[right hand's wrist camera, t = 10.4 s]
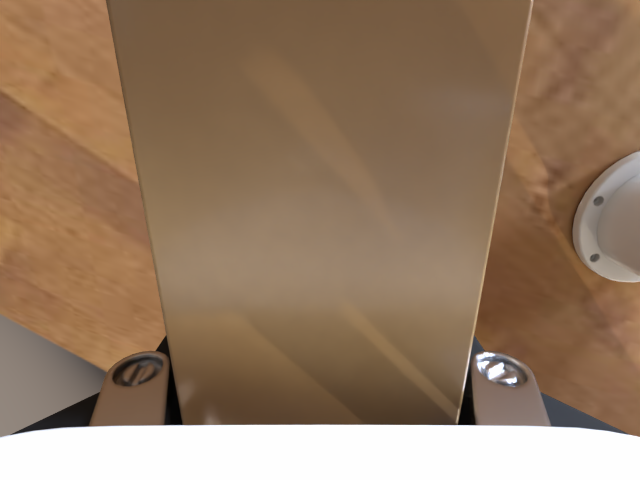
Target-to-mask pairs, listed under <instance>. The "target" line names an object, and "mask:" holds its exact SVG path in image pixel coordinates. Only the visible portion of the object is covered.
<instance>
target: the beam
mask: <svg viewBox="0 0 640 480" xmlns="http://www.w3.org/2000/svg"><path fill="white" fill-rule="evenodd" d="M533 2H534V0H106V3H107V8H108V14H109V20H110V25H111V31H112V36H113V42H114V47H115V53H116V58H117V64H118V69H119V75H120V80H121V86H122V92H123V97H124V103H125V108H126V114H127V119H128V125H129V130H130V136H131V141H132V147H133V152H134V158H135V163H136V169H137V175H138V180H139V186H140V191H141V197H142V202H143V208H144V213H145V219H146V224H147V230H148V235H149V241H150V247H151V252H152V258H153V263H154V269H155V274H156V280H157V285H158V291H159V296H160V302H161V307H162V313H163V319H164V324H165V330H166V335H167V341H168V346H169V352H170V357H171V363H172V368H173V374H174V379H175V385H176V390H177V396H178V402H179V407H180V413H181V418H182V424H183V425H458V421H459V416H460V410H461V404H462V399H463V393H464V388H465V382H466V377H467V371H468V365H469V360H470V354H471V349H472V343H473V337H474V332H475V326H476V321H477V315H478V309H479V304H480V298H481V293H482V287H483V281H484V276H485V270H486V265H487V259H488V253H489V248H490V242H491V237H492V231H493V226H494V220H495V214H496V209H497V203H498V198H499V192H500V186H501V181H502V175H503V170H504V164H505V158H506V153H507V147H508V142H509V136H510V130H511V125H512V119H513V114H514V108H515V103H516V97H517V91H518V86H519V80H520V75H521V69H522V63H523V58H524V52H525V47H526V41H527V35H528V30H529V24H530V19H531V13H532V7H533Z"/></svg>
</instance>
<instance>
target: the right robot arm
mask: <svg viewBox="0 0 640 480" xmlns="http://www.w3.org/2000/svg"><path fill="white" fill-rule="evenodd" d="M572 232H573V243H574V246H575V250H576V253H577V254H578V256H579V258H580V259H581V261H582V262H583V263H584V264H585V265H586V266H587V267H588V268H589V269H591V270H592V271H594V272H595V273H597V274H599V275H600V276H603V277H605V278H607V279H609V280H614V281H619V282H640V151H638V152H635V153H632V154H630V155H628V156H627V157H625V158H623V159H621V160H619V161H617V162H616V163H615V164H613V165H612V166H611V167H609V168H608V169H606V170H605V171H604V172H603V173H602V174H601V175H600V176H599V177H598V178H597V179H596V180H595V181H594V182H593V184H592V185H591V186H590V188H589V189H588V190H587V191H586V193H585V195H584V196H583V198H582V200H581V202H580V204H579V206H578V209H577V211H576V214H575V217H574V223H573V230H572ZM0 480H640V437H637V436H632V435H629V434H627V433H625V432H623V431H621V430H619V429H617V428H615V427H613V426H610V425H608V424H606V423H604V422H602V421H600V420H598V419H596V418H594V417H592V416H589V415H587V414H585V413H583V412H581V411H579V410H577V409H575V408H573V407H571V406H568V405H566V404H564V403H562V402H560V401H558V400H556V399H554V398H552V397H550V396H548V395H545V394H543V393H541V392H540V391H539V388H538V385H537V382H536V379H535V376H534V374H533V372H532V371H531V369H530V368H529V367H528V366H527V365H526V364H525V363H523V362H521V361H520V360H518V359H517V358H515V357H512V356H510V355H508V354H504V353H501V352H496V351H484V349H483V348H482V346H481V345H480V343H479V342H478V340H477V339H476V337H475V336H474V337H473V343H472V349H471V354H470V360H469V365H468V371H467V377H466V382H465V388H464V393H463V399H462V404H461V410H460V416H459V421H458V425H183V424H182V418H181V413H180V407H179V402H178V396H177V390H176V385H175V379H174V374H173V368H172V363H171V357H170V352H169V346H168V341H167V335H166V336H165V338H164V339H163V341H162V342H161V344H160V345H159V347H158V348H157V350H156V351H144V352H139V353H136V354H132V355H130V356H128V357H125V358H123V359H122V360H120V361H119V362H117V363H115V364H114V365H113V366H112V367H111V368H110V369H109V371H108V372H107V374H106V376H105V379H104V382H103V385H102V388H101V391H100V392H99V393H97V394H95V395H93V396H91V397H88V398H86V399H84V400H82V401H80V402H78V403H76V404H74V405H72V406H70V407H67V408H65V409H63V410H61V411H59V412H57V413H55V414H53V415H51V416H49V417H47V418H45V419H42V420H40V421H38V422H36V423H34V424H32V425H30V426H28V427H26V428H24V429H21V430H19V431H17V432H15V433H13V434H11V435H8V436H3V437H0Z"/></svg>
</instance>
